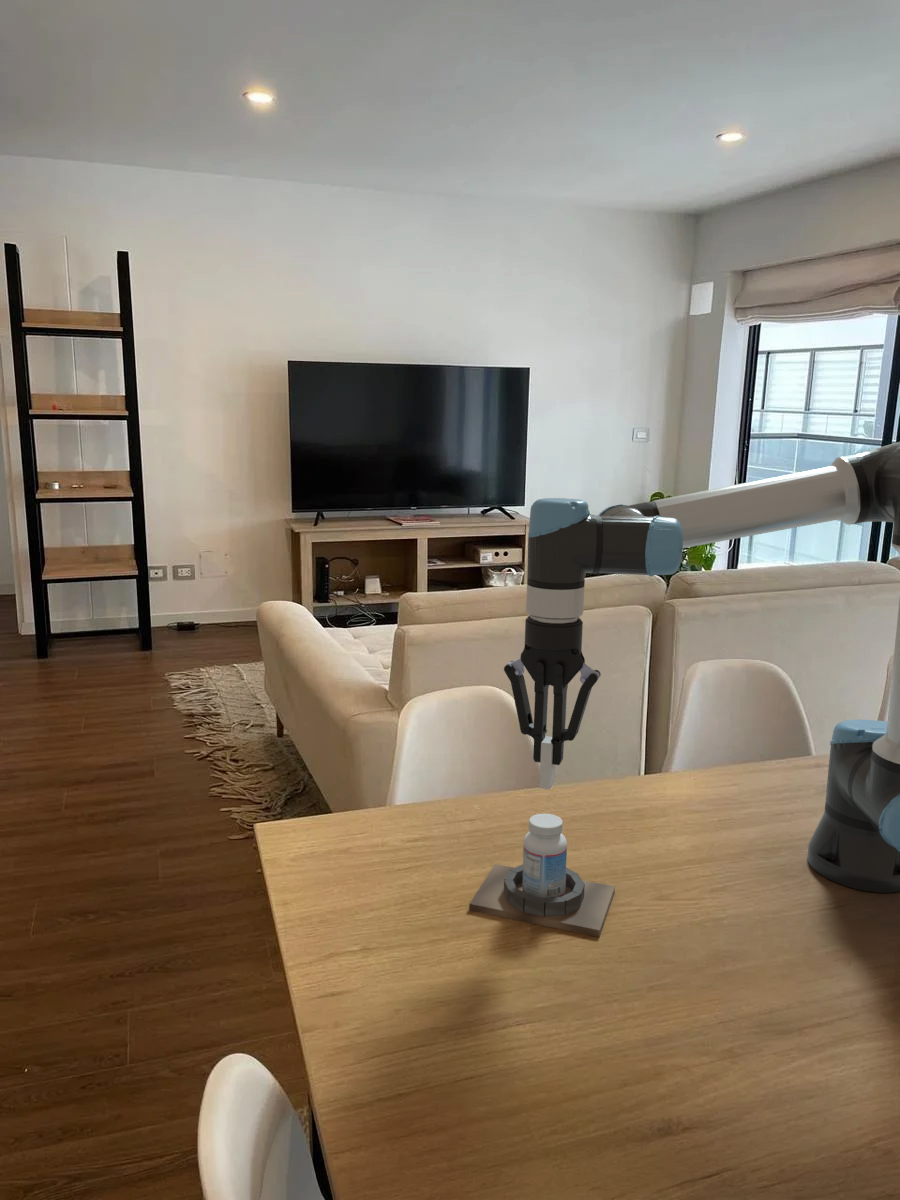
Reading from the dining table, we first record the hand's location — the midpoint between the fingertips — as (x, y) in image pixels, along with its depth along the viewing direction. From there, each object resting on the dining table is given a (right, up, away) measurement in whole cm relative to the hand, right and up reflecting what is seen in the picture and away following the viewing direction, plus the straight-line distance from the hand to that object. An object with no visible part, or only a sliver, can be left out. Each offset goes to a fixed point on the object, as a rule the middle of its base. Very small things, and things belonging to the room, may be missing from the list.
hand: (547, 784), depth 121 cm
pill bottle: (0, -16, +3) cm, 17 cm away
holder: (0, -17, +3) cm, 17 cm away
